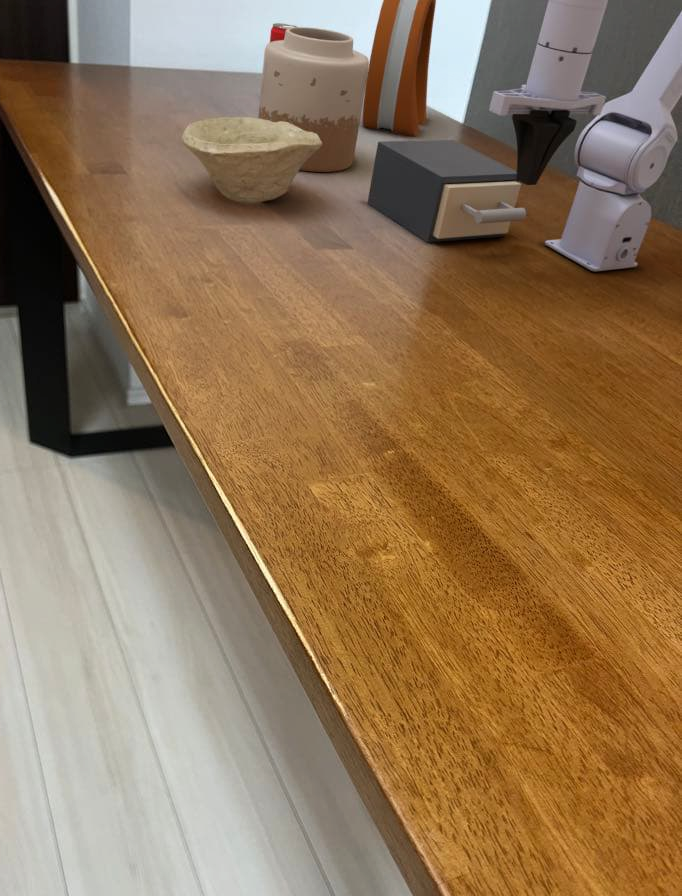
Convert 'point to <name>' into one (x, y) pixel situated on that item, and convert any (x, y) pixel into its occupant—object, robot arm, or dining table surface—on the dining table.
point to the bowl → (250, 155)
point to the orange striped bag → (399, 67)
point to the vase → (316, 91)
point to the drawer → (477, 209)
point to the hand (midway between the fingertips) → (526, 182)
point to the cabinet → (426, 180)
